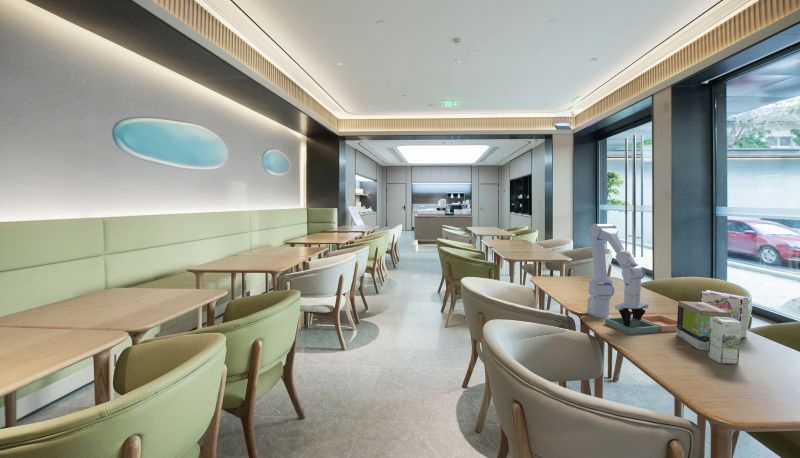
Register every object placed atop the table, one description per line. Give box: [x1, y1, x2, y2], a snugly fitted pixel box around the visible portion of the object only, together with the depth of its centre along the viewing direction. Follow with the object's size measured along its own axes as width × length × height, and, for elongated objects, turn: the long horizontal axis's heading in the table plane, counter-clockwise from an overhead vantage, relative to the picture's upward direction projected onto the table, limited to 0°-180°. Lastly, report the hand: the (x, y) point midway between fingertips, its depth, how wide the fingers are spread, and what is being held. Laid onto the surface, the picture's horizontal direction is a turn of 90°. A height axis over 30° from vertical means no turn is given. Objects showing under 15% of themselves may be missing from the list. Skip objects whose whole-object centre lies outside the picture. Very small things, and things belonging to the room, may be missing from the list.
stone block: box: [622, 316, 640, 328], centre depth 153 cm, size 5×4×4 cm
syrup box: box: [707, 317, 741, 365], centre depth 121 cm, size 6×6×14 cm
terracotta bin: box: [641, 314, 677, 333], centre depth 156 cm, size 14×14×3 cm
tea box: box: [676, 300, 731, 352], centre depth 136 cm, size 15×10×15 cm, turn 168°
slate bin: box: [604, 316, 660, 336], centre depth 153 cm, size 14×14×3 cm
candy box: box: [700, 289, 750, 340], centre depth 148 cm, size 14×6×16 cm, turn 25°
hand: (631, 325), depth 153 cm, fingers closed on stone block, 4 cm apart
